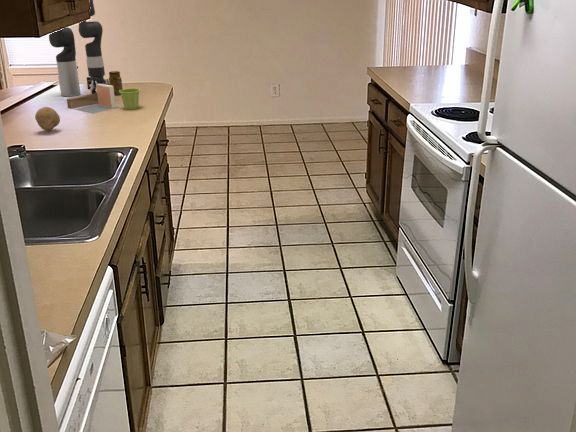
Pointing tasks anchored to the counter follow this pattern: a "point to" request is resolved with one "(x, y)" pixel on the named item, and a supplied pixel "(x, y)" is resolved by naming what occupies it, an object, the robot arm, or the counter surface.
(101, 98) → the tile
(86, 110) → the mat
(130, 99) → the plant pot
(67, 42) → the robot arm
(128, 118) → the counter surface
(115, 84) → the condiment
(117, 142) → the counter surface
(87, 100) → the push bar
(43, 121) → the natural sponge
